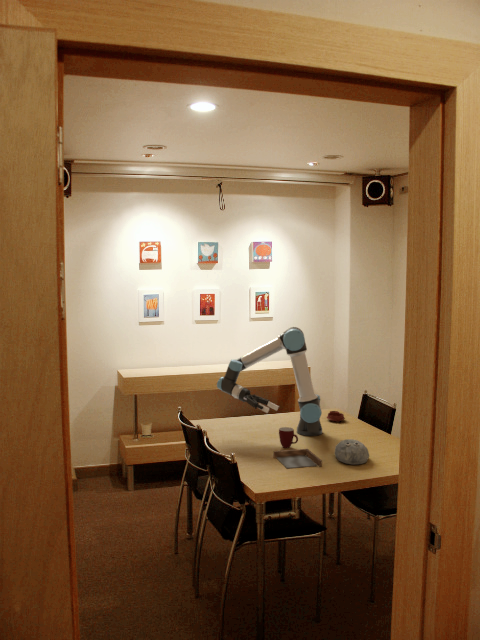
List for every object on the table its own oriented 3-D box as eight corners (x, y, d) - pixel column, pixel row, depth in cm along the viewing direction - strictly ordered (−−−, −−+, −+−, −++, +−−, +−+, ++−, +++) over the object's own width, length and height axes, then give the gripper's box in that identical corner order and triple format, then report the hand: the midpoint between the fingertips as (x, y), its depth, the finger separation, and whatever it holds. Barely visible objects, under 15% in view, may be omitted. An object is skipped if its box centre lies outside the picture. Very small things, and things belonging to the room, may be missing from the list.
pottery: (327, 423, 351) (327, 416, 351) (325, 415, 371) (325, 408, 370) (345, 423, 350) (345, 416, 349) (342, 415, 370) (342, 409, 369)
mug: (298, 445, 303) (299, 428, 302) (297, 450, 295) (297, 432, 294) (279, 444, 305) (280, 426, 305) (277, 448, 298) (277, 430, 297)
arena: (307, 454, 289) (307, 448, 289) (321, 466, 271) (321, 460, 271) (273, 456, 284) (273, 451, 284) (285, 469, 266) (285, 463, 266)
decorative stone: (369, 454, 290) (369, 436, 289) (369, 468, 269) (370, 448, 269) (335, 452, 293) (335, 433, 293) (333, 465, 273) (333, 445, 272)
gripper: (248, 397, 326) (279, 413, 317) (229, 401, 303) (261, 418, 294) (252, 386, 325) (283, 401, 316) (234, 388, 303) (266, 405, 294)
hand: (273, 409), depth 305 cm, fingers open, 13 cm apart
